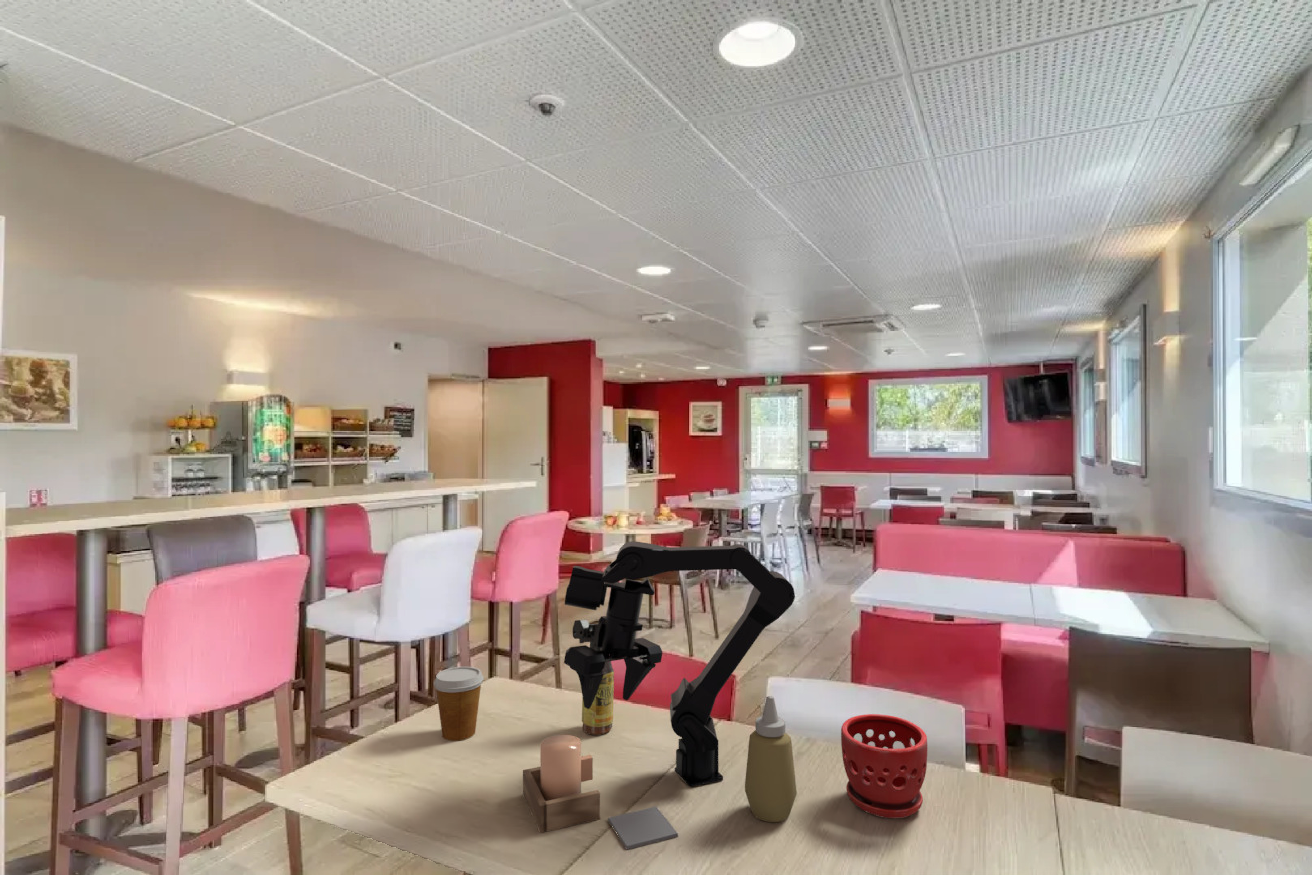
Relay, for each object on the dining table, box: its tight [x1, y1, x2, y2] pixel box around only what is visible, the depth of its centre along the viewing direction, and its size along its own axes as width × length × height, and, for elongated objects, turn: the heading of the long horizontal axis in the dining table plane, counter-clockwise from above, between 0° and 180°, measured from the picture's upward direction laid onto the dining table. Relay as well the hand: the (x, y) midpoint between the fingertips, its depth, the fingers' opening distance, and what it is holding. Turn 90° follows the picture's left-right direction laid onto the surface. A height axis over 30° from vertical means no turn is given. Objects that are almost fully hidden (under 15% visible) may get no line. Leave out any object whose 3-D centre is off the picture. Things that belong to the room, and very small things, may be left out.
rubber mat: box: [607, 806, 679, 850], centre depth 102 cm, size 8×8×1 cm
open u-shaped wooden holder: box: [522, 766, 601, 834], centre depth 109 cm, size 9×12×4 cm
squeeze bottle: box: [744, 695, 798, 823], centre depth 107 cm, size 8×8×18 cm
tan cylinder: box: [539, 734, 594, 801], centre depth 109 cm, size 8×6×10 cm
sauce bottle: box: [581, 642, 615, 736], centre depth 137 cm, size 7×6×20 cm
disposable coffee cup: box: [433, 666, 485, 742], centre depth 135 cm, size 10×10×12 cm
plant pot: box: [840, 713, 928, 819], centre depth 109 cm, size 13×13×12 cm
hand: (606, 703), depth 118 cm, fingers open, 9 cm apart
